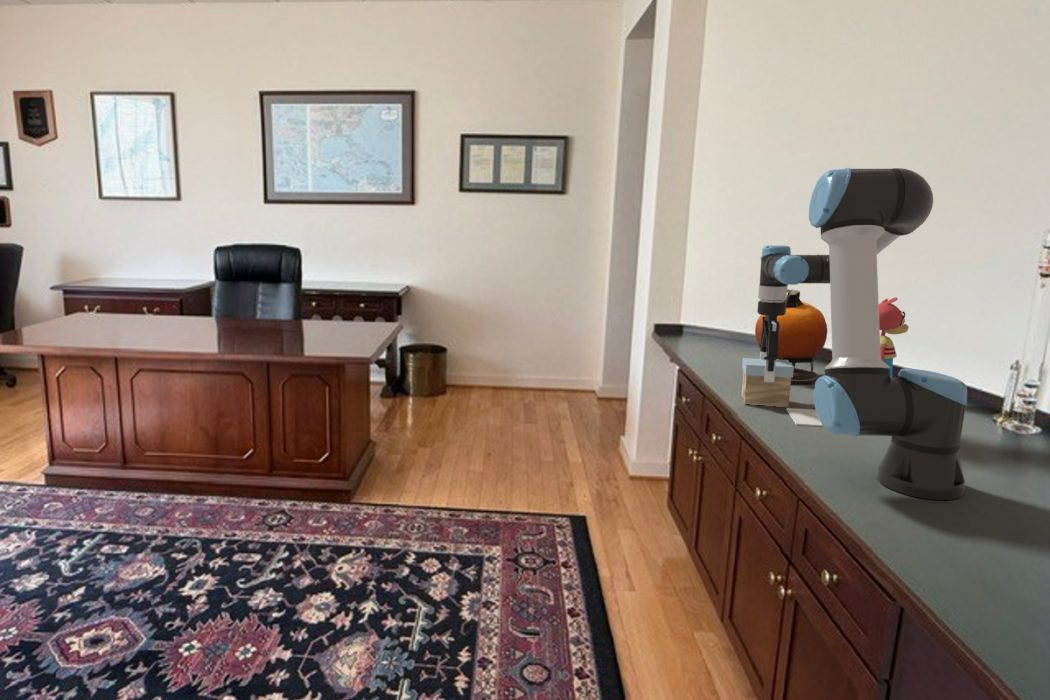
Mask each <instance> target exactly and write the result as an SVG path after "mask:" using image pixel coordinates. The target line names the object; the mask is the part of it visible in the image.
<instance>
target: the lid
mask: <svg viewBox="0 0 1050 700" xmlns="http://www.w3.org/2000/svg"><path fill="white" fill-rule="evenodd" d="M741 365H742V366H741V368H742V370H743V371H744V373H745V375H752V376H764V371H765V360H764V359H760V358H747V357H743V358H742V364H741ZM793 370H794V367H793V366H792V363H790V362H789V361H788V360H779V359H776V366H775V377H793ZM743 371H742V372H743Z"/></svg>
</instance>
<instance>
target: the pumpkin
mask: <svg viewBox="0 0 1050 700" xmlns="http://www.w3.org/2000/svg"><path fill="white" fill-rule="evenodd" d="M789 290H790V291H789V292H788V293H787V299H786V300H784V302H786V313H785V315H782V316H777V322H779V325H780V327H779V336H778V359H777V360H788V361H789V362H790V363H791V364H792V366H793V367H794V370H793V377H791V385H803V386H804V385H805V386H808V385H813V384H814V385H815V383H816V381H817V379H818V378H819V375H818V373H816V372H815V371H814V363H815V362H814V359H813V358H815V357H816V356H817V355H819V354H820V353H821V351H822V350H823V348H824V347H825V344H826V342H827V339H828V337H827V336H828V324H827V322H826V318H825V316H824V314H823V313H822V311H820V309H818V308H817V307H815V306H814V305H812V304H810V303H809V302H806V301H802V300H801V298H800V296H801V291H800V290H797V289H789ZM759 315H760V314H759ZM763 317H765V315H760V316H759V317H758V318H757V320H756V323H755V327H754V328H755V330H754V335H755V336H754V337H755V339H756V342H757V345H758V347H759V349H761V348H760V340H761V331H762V321H763V319H762V318H763ZM771 355H774V354H771ZM802 363H805V364H806V363H807V364H808V363H809V364H810V371H809V370H806V369H803V368H802V369H801V368H798V367H797V368H796V364H802Z"/></svg>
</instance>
